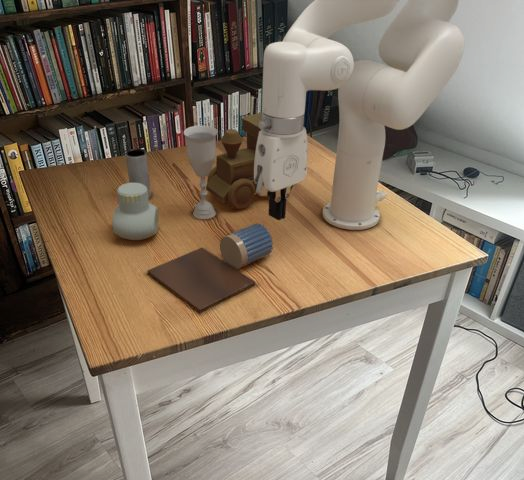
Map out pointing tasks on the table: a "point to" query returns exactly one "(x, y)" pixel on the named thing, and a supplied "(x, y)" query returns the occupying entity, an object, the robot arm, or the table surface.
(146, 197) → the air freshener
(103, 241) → the table surface
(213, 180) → the wooden toy train
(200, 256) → the walnut board
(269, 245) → the tea cup
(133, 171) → the grey pipe
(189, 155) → the chalice
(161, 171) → the table surface
